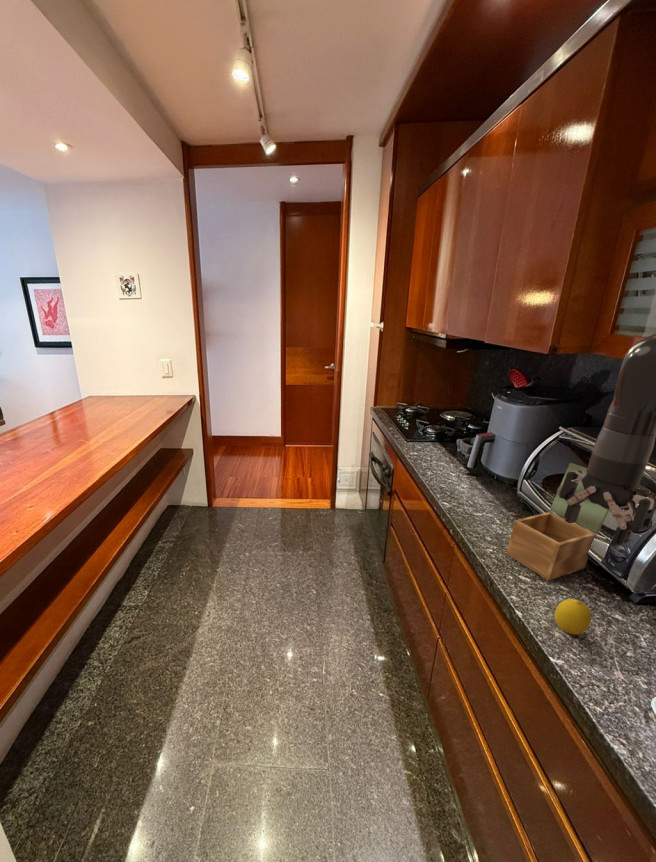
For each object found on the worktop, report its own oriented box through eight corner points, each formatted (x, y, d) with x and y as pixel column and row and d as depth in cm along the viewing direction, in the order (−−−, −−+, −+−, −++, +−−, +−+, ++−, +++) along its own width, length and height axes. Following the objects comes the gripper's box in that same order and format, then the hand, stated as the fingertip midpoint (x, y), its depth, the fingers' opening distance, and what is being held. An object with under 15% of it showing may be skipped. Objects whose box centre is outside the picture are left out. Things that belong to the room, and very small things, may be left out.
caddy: (548, 581, 92) (560, 544, 88) (505, 554, 102) (514, 520, 98) (584, 569, 96) (597, 534, 92) (539, 544, 106) (549, 511, 102)
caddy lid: (621, 480, 87) (623, 480, 88) (569, 462, 98) (571, 463, 98) (596, 532, 92) (598, 532, 92) (549, 510, 102) (551, 510, 102)
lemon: (544, 626, 79) (554, 595, 76) (562, 618, 81) (573, 588, 78) (572, 646, 74) (584, 614, 71) (590, 638, 76) (603, 606, 73)
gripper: (684, 465, 63) (648, 549, 69) (593, 439, 75) (570, 512, 82) (653, 471, 61) (619, 557, 67) (565, 443, 73) (543, 518, 80)
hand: (592, 532), depth 74 cm, fingers open, 8 cm apart
